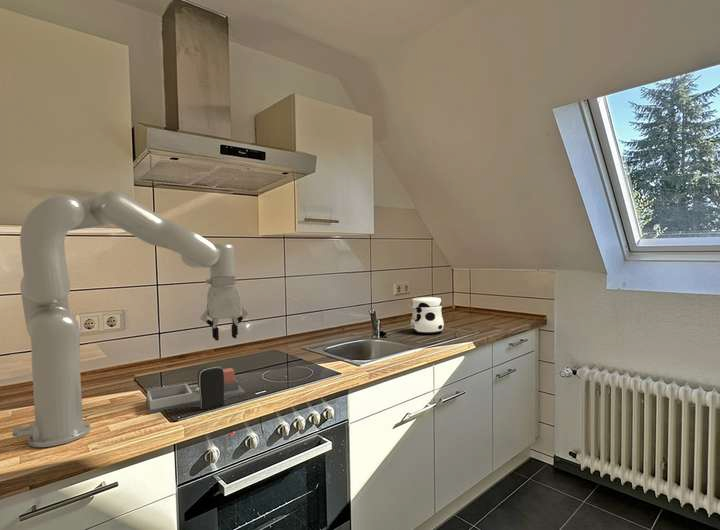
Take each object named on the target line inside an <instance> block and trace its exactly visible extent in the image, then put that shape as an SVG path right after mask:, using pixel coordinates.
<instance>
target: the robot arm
mask: <svg viewBox="0 0 720 530" xmlns="http://www.w3.org/2000/svg"><path fill="white" fill-rule="evenodd" d="M107 225H114V226H115V227H117V228H119V229H121V230H124V231H125V232H127V233H128V234H130V235H132V236H134V237H136V238H138V239H139V240H141V241H142V242H145V243H147V244H149V245H152V246H155V247H160V248H163V249H164V248H165V249H167V250H171V251H172V252H175V253H178V254H179V255H180V258H181V260H182V262H183V263H184V264H185V265H186V266H188V267H189V268H200V269H201V268H209V271H210V273H209V274H210V277H209V278H208V279H205V284H206V285H207V284H208V285H209V287H208V290H207V301H206V309H205V310H204V312H203V313H202V315H200V318H199V319H200V320H201V321H203V322H204V323H206V324H207V325H209V326H210V327H211V332H212V338H213V339H214V340H215V341H216V342H218V341H219V339H220V337H219V335H220V334H219V328H218V322H219V320H221V319H231V322H232V324H231V337H232V339H237V336H238V335H239V332H238V331H239V330H238V327H239V324H241V322H242V320H244V319H245V318H246V317H247V316H248V312H247V310H245V309H244V307H243V306H242V298H241V292H240V288H239V285H236V265H235V248H234V247H235V246H234V245H233V244H232V243H214V244H213V243H212V242H211V241H210V240H207V238H204V237H203V236H202V235H200V234H198V233H196V232H195V231H193V230H190V229H188V228H187V227H185V226H182V225H180V224H177V223H175V222H173V221H172V220H170V219H167V218H165V217H163V216H161V215H160V214H158V213H156V212H154V211H153V210H152V209H149V208H148V207H146V206H145V205H143V204H142V203H140V202H138V200H137V201H136V200H135V199H133V198H131V197H130V196H128V195H126V194H124V193H123V192H121V191H119V190H118V191H117V190H109V191H105V192H103V193H100V194H98V195H94V196H93V195H92V196H86V197H77V198H76V197H74V196H72V195H67V194H58V195H54V196H51V197H49V198H47V199H45V200H43V201H41V202H40V203H38V204H37V205H35V206H34V207H33V208H32V209H31V210H30V211H29V213H28V214H27V216H26V217H25V219H24V221H23V223H22V224H21V229H20V236H19V239H20V240H19V242H20V245H19V246H20V254H21V263H22V271H23V276H22V278H21V281H20V294H21V301H22V308H23V314H24V319H25V326H26V330H27V333H28V335H29V337H30V342H31V343H30V345H31V373H32V374H31V377H32V387H33V388H32V389H33V401H34V402H33V403H34V404H33V405H34V406H33V407H34V421H33V423H29V425H25V426H18V427H13V428H12V430H11V431H12V432H11V435H12V437H16V438H17V439H20V438H23V437H28V436H29V437H28V438H27V444H28V446H30V447H32V448H49V447H54V446H55V447H56V446H60V445H65V444H68V443H70V442H74V441H76V440H78V439H81V438H83V437H84V436H86V435H87V434H88V433H89V432H90V431H91V424H90V423H89V422H86V421H84V420H83V419H84V418H83V402H82V401H83V400H82V399H83V398H82V382H81V381H82V380H81V379H82V378H81V367H80V366H81V363H80V360H81V358H80V346H81V345H80V344H81V343H80V342H81V330H80V329H81V328H80V324H79V322H78V319H76V317H75V316H74V315H73V314H72V313H70V307H69V298H68V295H69V294H70V291H71V281H70V276H69V272H68V265H67V260H66V251H65V249H66V248H65V239H66V236H67V234H68V232H70V231H76V230H82V229H83V230H84V229H85V230H86V229H90V228H96V227H102V226H103V227H104V226H107ZM207 317H209V318H211V319H209V318H207Z"/></svg>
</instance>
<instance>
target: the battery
mask: <svg viewBox="0 0 720 530" xmlns="http://www.w3.org/2000/svg"><path fill="white" fill-rule="evenodd" d="M223 369H224V368H222V367H220V366H219V365H218V366H217V365H213V366H208V367H204V368H203V367H202V368H200V369H199V370H198V372H197V387H199V391H200V404H199V408H200V409H201V410H202V409H203V410H208V408H209V409H212V407H213V408H216V407H219V405H220V406H222V404H223V405H225V399H224V372H223ZM215 406H216V407H215Z"/></svg>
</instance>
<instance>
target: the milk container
mask: <svg viewBox="0 0 720 530" xmlns="http://www.w3.org/2000/svg"><path fill="white" fill-rule="evenodd" d="M442 308H443V306H442V299H441V298H440V297H431V296H430V297H429V296H427V297H426V296H425V297H424V296H423V297H422V296H421V297H414V298H411V317H410V318H411V319H410V328H411V331H413V332H414V333H418V334H421V335H425V334H426V335H427V334H428V335H431V334H432V335H433V334H438V333H440V332H442V331H443V329H444V326H445V322H444V318H443V313H442V310H443V309H442Z"/></svg>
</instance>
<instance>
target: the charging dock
mask: <svg viewBox="0 0 720 530" xmlns="http://www.w3.org/2000/svg"><path fill="white" fill-rule="evenodd" d="M146 392H147V393H146V394H147V397H146V398H145V403H146V407H147V410H148V411H147V412H148V414H149V415H151V414H157V413H161V412H165V411H164V410H167V411H169V410H168V409H172V410H176V409H175V408H177V409H180V407H182V408H186V406H187V407H191V406H195V404H196V405H200V391H199V387H198V386H197V387H195V389H190V387H189V386H188V384H187V383H182V384H174V385H170V386H164V387H158V388H153V389H152V388H151V389H147V390H146ZM243 394H245V395H246V391H245V390H244V388H242V387H241V386H240V385H239V381H238V380H237V379H236V378H235V382H231V383H226V384H224V400H225V398H226V399H230V398H234V396H235V397H240V396H244V395H243ZM239 395H240V396H239ZM190 405H191V406H190Z"/></svg>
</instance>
